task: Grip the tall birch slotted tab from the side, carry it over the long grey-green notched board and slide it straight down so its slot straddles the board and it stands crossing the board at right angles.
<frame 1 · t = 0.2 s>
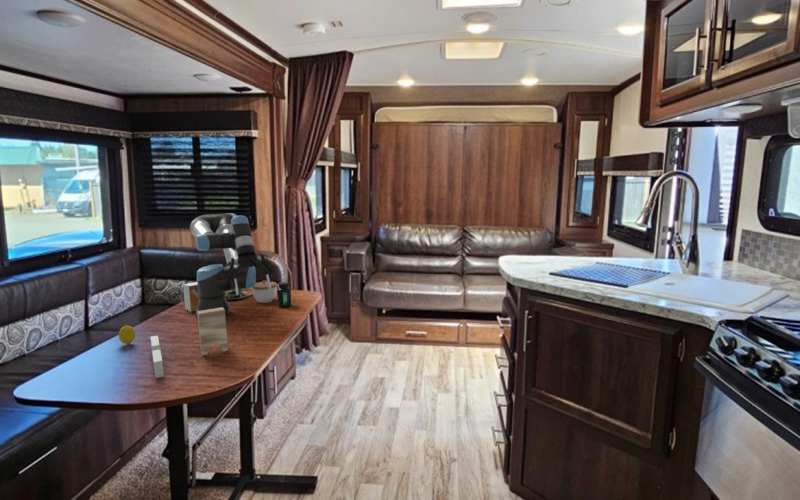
hand: (254, 291, 196), 16 cm above the table, tool tilted 35°, fingers open, 13 cm apart
supplement bottle: (284, 306, 229), on the table
salad plate: (232, 298, 248), on the table
lidded bowl: (265, 301, 239), on the table
small box: (196, 309, 226), on the table
notched board: (157, 362, 161), on the table
lemon: (128, 345, 179), on the table
slotted tab: (214, 351, 171), on the table
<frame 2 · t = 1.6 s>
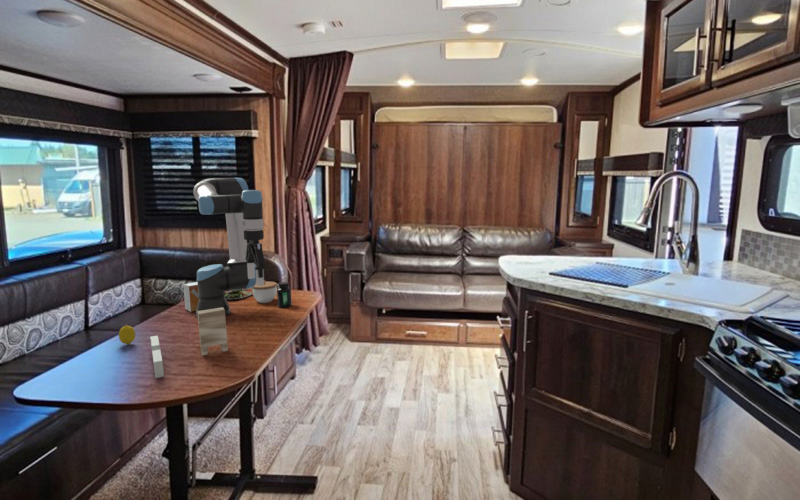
hand: (255, 281, 183), 23 cm above the table, tool pointing down, fingers open, 13 cm apart
nothing on the table moved.
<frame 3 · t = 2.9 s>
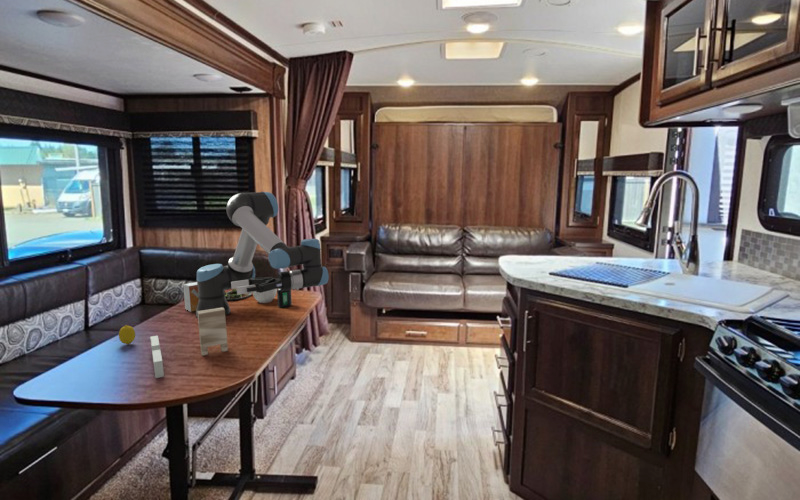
hand: (233, 288, 172), 23 cm above the table, tool horizontal, fingers open, 13 cm apart
nothing on the table moved.
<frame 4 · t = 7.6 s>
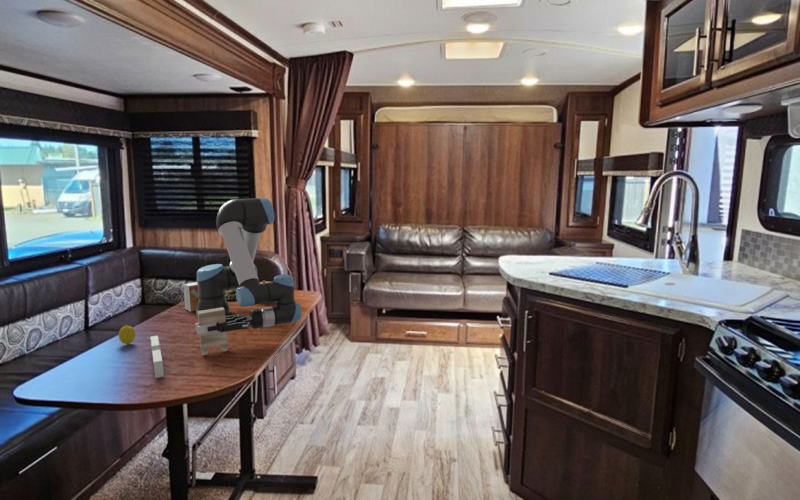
hand: (196, 328, 166), 10 cm above the table, tool horizontal, fingers closed on slotted tab, 3 cm apart
slotted tab: (214, 351, 171), on the table, touching gripper
everything else where it was.
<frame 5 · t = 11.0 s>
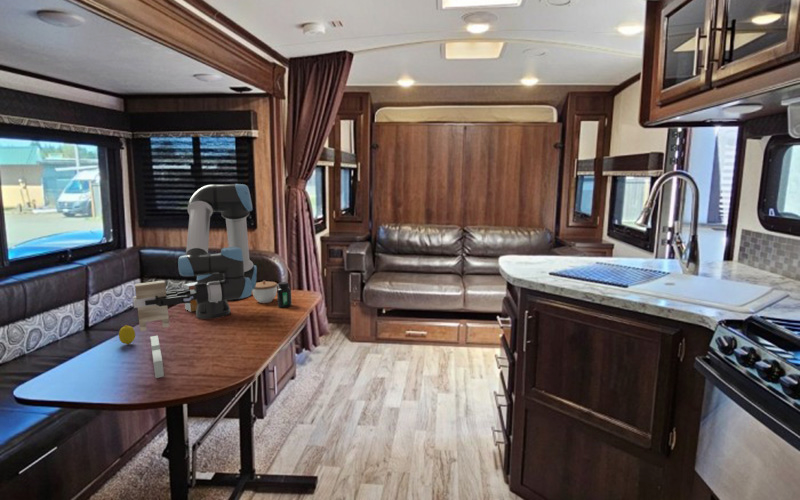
hand: (133, 302, 155), 23 cm above the table, tool horizontal, fingers closed on slotted tab, 3 cm apart
slotted tab: (154, 327, 159), point 13 cm above the table, touching gripper
everything else where it was.
when the fingers open (11 cm above the table, at t = 14.7 s): slotted tab drops 1 cm, on the table.
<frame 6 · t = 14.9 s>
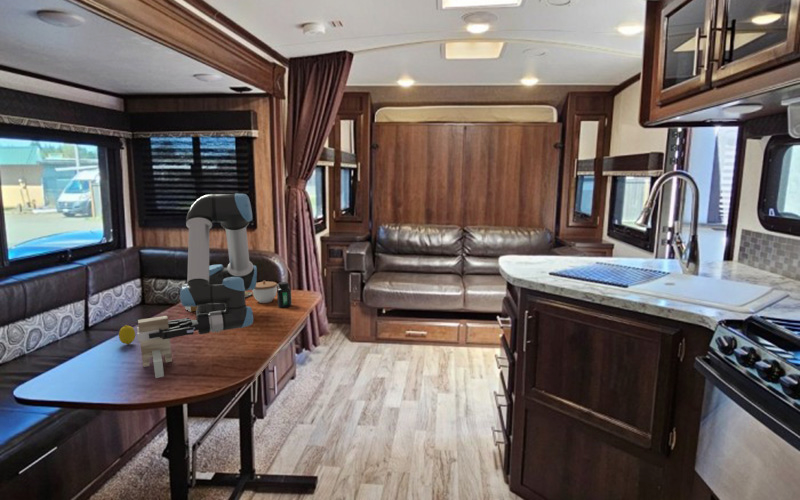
hand: (137, 334, 157), 11 cm above the table, tool horizontal, fingers open, 6 cm apart
slotted tab: (157, 362, 161), on the table
everything else where it was.
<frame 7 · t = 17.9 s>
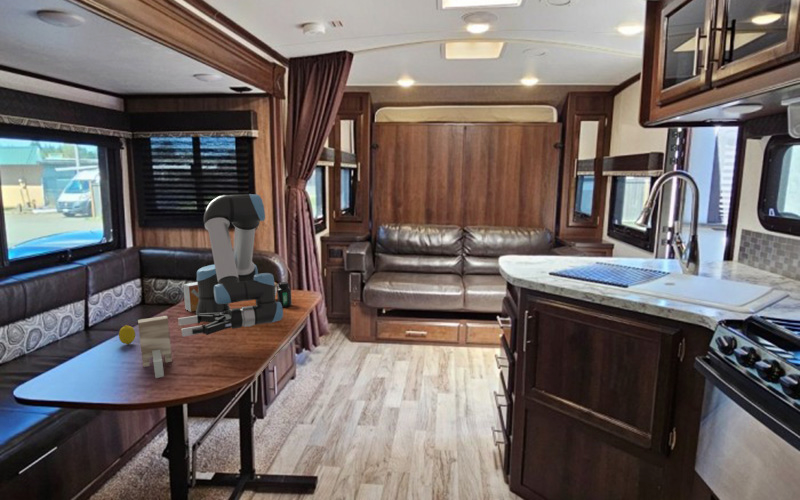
hand: (179, 327, 163), 12 cm above the table, tool horizontal, fingers open, 13 cm apart
nothing on the table moved.
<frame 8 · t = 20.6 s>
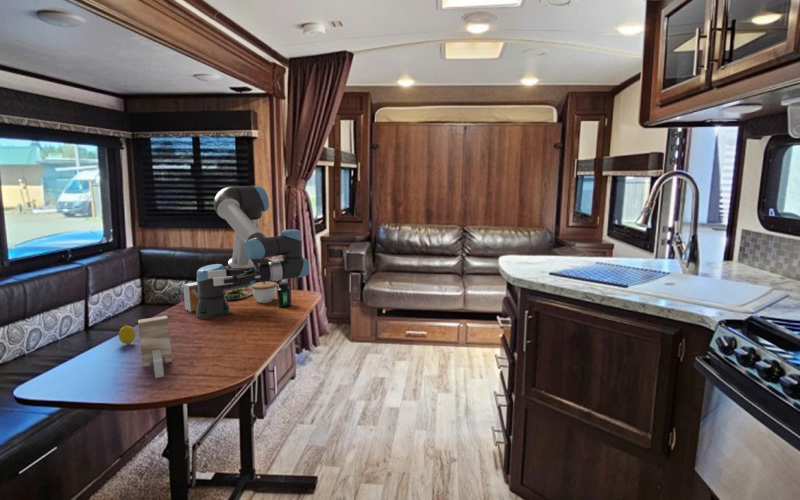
hand: (210, 278, 166), 28 cm above the table, tool horizontal, fingers open, 13 cm apart
nothing on the table moved.
at the end: slotted tab 0.1 cm off-centre on the notched board, point 0.0 cm above the notched board's base; slotted tab tilted 0°; the gripper is holding nothing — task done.
